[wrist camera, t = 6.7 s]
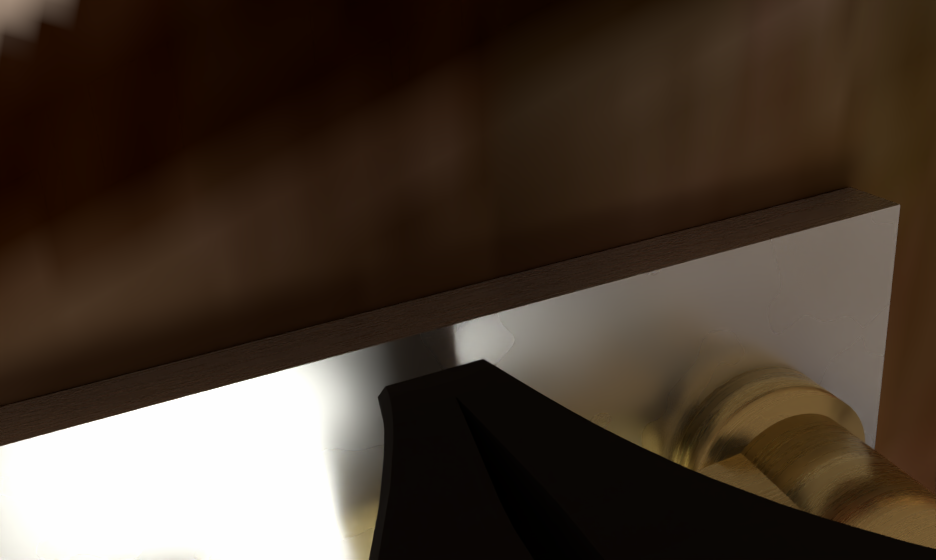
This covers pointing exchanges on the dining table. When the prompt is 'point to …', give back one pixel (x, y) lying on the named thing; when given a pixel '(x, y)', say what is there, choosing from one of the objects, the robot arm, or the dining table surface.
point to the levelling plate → (431, 350)
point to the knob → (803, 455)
